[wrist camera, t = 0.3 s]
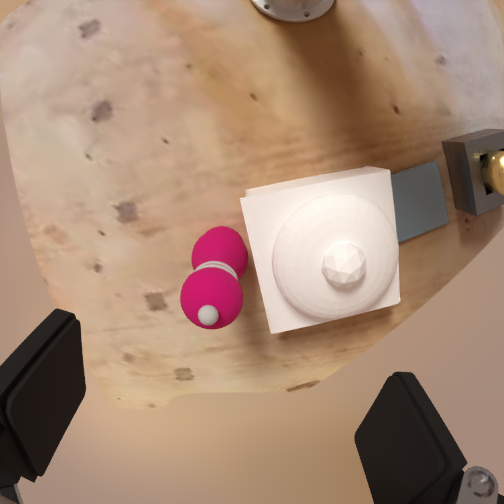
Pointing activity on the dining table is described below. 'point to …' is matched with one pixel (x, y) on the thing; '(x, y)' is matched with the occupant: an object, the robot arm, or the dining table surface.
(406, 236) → the mat
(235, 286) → the pepper mill
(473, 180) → the housing
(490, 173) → the end cover
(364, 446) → the robot arm
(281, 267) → the butter dish
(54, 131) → the dining table surface
